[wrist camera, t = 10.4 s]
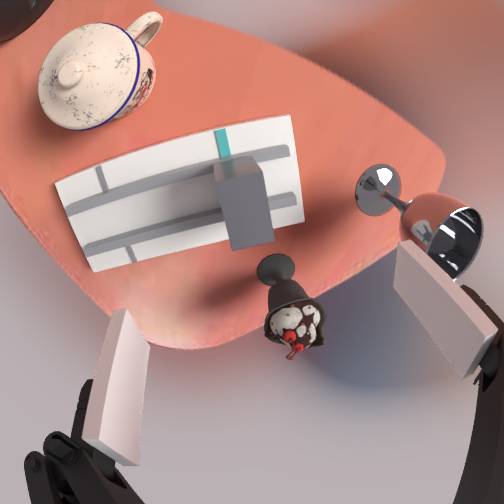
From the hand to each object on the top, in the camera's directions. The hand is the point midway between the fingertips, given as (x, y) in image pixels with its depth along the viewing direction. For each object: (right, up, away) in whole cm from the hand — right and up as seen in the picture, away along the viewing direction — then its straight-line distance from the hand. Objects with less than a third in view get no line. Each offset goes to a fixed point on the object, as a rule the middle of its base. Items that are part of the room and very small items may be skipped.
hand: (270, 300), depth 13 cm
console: (-9, +9, +18) cm, 22 cm away
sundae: (+2, 0, +25) cm, 25 cm away
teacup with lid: (-14, +21, +10) cm, 27 cm away
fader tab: (-2, +9, +16) cm, 18 cm away
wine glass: (+15, +10, +21) cm, 28 cm away
